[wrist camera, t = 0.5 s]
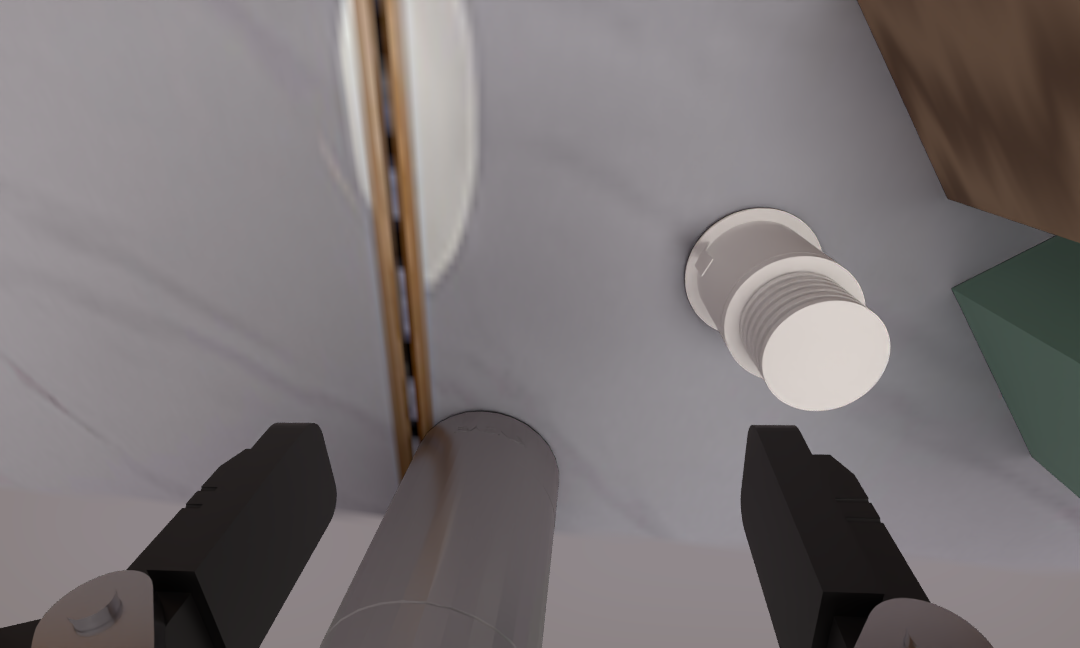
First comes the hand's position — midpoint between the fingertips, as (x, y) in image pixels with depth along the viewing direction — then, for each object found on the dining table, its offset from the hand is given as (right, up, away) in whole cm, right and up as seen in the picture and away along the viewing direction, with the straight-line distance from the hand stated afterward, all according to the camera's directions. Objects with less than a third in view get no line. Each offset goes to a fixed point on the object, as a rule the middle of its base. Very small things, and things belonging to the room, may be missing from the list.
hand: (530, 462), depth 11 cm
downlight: (+11, +5, +20) cm, 24 cm away
